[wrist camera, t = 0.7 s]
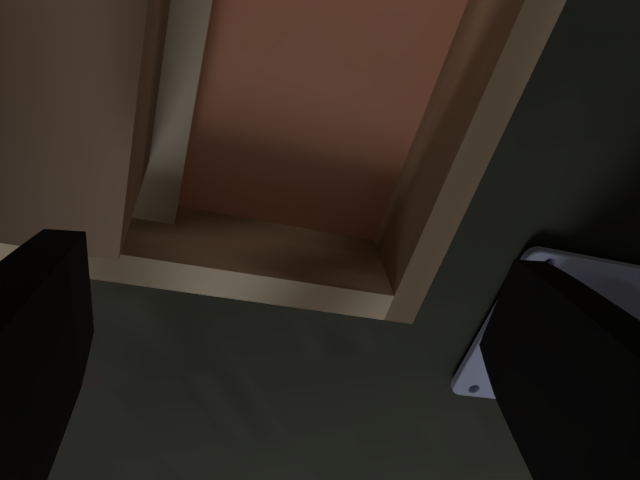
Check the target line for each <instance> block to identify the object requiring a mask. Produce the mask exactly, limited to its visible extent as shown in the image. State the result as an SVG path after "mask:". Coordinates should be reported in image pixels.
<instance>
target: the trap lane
mask: <svg viewBox="0 0 640 480" xmlns="http://www.w3.org/2000/svg"><path fill="white" fill-rule="evenodd" d="M565 2H566V0H170V8H169V15H168V23H167V30H166V38H165V45H164V53H163V60H162V68H161V75H160V83H159V90H158V98H157V105H156V113H155V120H154V128H153V135H152V143H151V150H150V158H149V163H148V166H147V170H146V173H145V176H144V179H143V183H142V186H141V189H140V192H139V196H138V199H137V202H136V205H135V209H134V212H133V215H132V218H131V221H130V225H129V228H128V231H127V234H126V238H125V241H124V244H123V247H122V251H121V254H120V257H119V260H118V261H117V260H110V259H104V258H97V257H90V256H88V264H89V276H90V279H95V280H102V281H109V282H117V283H124V284H131V285H138V286H145V287H152V288H159V289H167V290H174V291H181V292H188V293H195V294H202V295H209V296H217V297H224V298H231V299H238V300H245V301H252V302H259V303H266V304H274V305H281V306H288V307H295V308H302V309H309V310H316V311H324V312H331V313H338V314H345V315H352V316H359V317H366V318H374V319H381V320H388V321H395V322H402V323H409V324H412V323H413V321H414V319H415V317H416V315H417V313H418V310H419V308H420V306H421V304H422V302H423V300H424V298H425V296H426V294H427V292H428V290H429V287H430V285H431V283H432V281H433V279H434V277H435V275H436V273H437V271H438V269H439V266H440V264H441V262H442V260H443V258H444V256H445V254H446V252H447V250H448V248H449V245H450V243H451V241H452V239H453V237H454V235H455V233H456V231H457V229H458V227H459V225H460V222H461V220H462V218H463V216H464V214H465V212H466V210H467V208H468V206H469V204H470V201H471V199H472V197H473V195H474V193H475V191H476V189H477V187H478V185H479V183H480V181H481V178H482V176H483V174H484V172H485V170H486V168H487V166H488V164H489V162H490V160H491V157H492V155H493V153H494V151H495V149H496V147H497V145H498V143H499V141H500V139H501V137H502V134H503V132H504V130H505V128H506V126H507V124H508V122H509V120H510V118H511V116H512V113H513V111H514V109H515V107H516V105H517V103H518V101H519V99H520V97H521V95H522V92H523V90H524V88H525V86H526V84H527V82H528V80H529V78H530V76H531V74H532V72H533V69H534V67H535V65H536V63H537V61H538V59H539V57H540V55H541V53H542V51H543V48H544V46H545V44H546V42H547V40H548V38H549V36H550V34H551V32H552V30H553V28H554V25H555V23H556V21H557V19H558V17H559V15H560V13H561V11H562V9H563V7H564V4H565ZM18 247H19V246H17V245H10V244H3V243H0V261H1V260H2V259H3V258H5V257H6V256H7V255H9V254H10V253H11V252H13V251H14V250H15V249H17V248H18Z"/></svg>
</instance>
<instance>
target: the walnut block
mask: <svg viewBox="0 0 640 480" xmlns="http://www.w3.org/2000/svg"><path fill="white" fill-rule="evenodd" d="M169 8H170V0H0V243H3V244H10V245H17V246H21V245H22V244H23V243H25V242H26V241H27V240H29V239H30V238H31V237H33V236H34V235H36V234H37V233H39V232H40V231H41V230H43V229H55V230H71V231H86V239H87V251H88V256H90V257H97V258H104V259H110V260H117V261H118V260H119V257H120V254H121V251H122V247H123V244H124V241H125V238H126V234H127V231H128V228H129V225H130V221H131V218H132V215H133V212H134V209H135V205H136V202H137V199H138V196H139V192H140V189H141V186H142V183H143V179H144V176H145V173H146V170H147V166H148V163H149V158H150V150H151V143H152V135H153V128H154V120H155V113H156V105H157V98H158V90H159V83H160V75H161V68H162V60H163V53H164V45H165V38H166V30H167V23H168V15H169Z"/></svg>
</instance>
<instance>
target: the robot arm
mask: <svg viewBox="0 0 640 480" xmlns="http://www.w3.org/2000/svg"><path fill="white" fill-rule="evenodd" d="M547 259H550V260H549V261H548V262H546V261H545V260H547ZM93 333H94V326H93V314H92V301H91V289H90V276H89V264H88V251H87V239H86V231H71V230H55V229H43V230H41V231H40V232H39V233H37V234H36V235H34V236H33V237H31V238H30V239H29V240H27V241H26V242H25V243H23V244H22V245H21V246H19V247H18V248H17V249H15V250H14V251H13V252H11V253H10V254H9V255H7V256H6V257H5V258H3V259H2V260H1V261H0V480H47V479H48V476H49V473H50V471H51V468H52V465H53V463H54V460H55V457H56V454H57V452H58V449H59V446H60V444H61V441H62V438H63V436H64V433H65V430H66V428H67V425H68V422H69V419H70V417H71V414H72V411H73V409H74V406H75V403H76V400H77V398H78V395H79V392H80V389H81V385H82V381H83V377H84V373H85V369H86V365H87V360H88V356H89V351H90V347H91V342H92V338H93ZM451 387H452V389H453V392H454V393H456V394H459V395H466V396H476V397H485V398H494V399H496V400H497V402H498V405H499V407H500V409H501V411H502V414H503V416H504V418H505V420H506V422H507V425H508V427H509V429H510V431H511V433H512V435H513V438H514V440H515V442H516V444H517V446H518V448H519V450H520V452H521V455H522V457H523V459H524V461H525V463H526V465H527V467H528V469H529V471H530V474H531V476H532V478H533V480H640V265H635V264H629V263H624V262H619V261H614V260H608V259H603V258H598V257H593V256H587V255H582V254H577V253H571V252H566V251H561V250H556V249H550V248H545V247H540V246H535V247H532V248H530V249H528V250H527V251H525V253H524V254H523V255H522V257H521V259H520V260H518V259H514V261H513V263H512V266H511V268H510V270H509V273H508V275H507V278H506V280H505V283H504V285H503V287H502V290H501V292H500V295H499V297H498V299H497V301H496V303H495V305H494V307H493V308H492V310H491V312H490V314H489V315H488V317H487V319H486V321H485V323H484V324H483V326H482V328H481V330H480V331H479V333H478V335H477V337H476V338H475V340H474V342H473V344H472V346H471V347H470V349H469V351H468V353H467V354H466V356H465V358H464V360H463V362H462V363H461V365H460V367H459V369H458V370H457V372H456V374H455V376H454V378H453V379H452V381H451Z"/></svg>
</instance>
